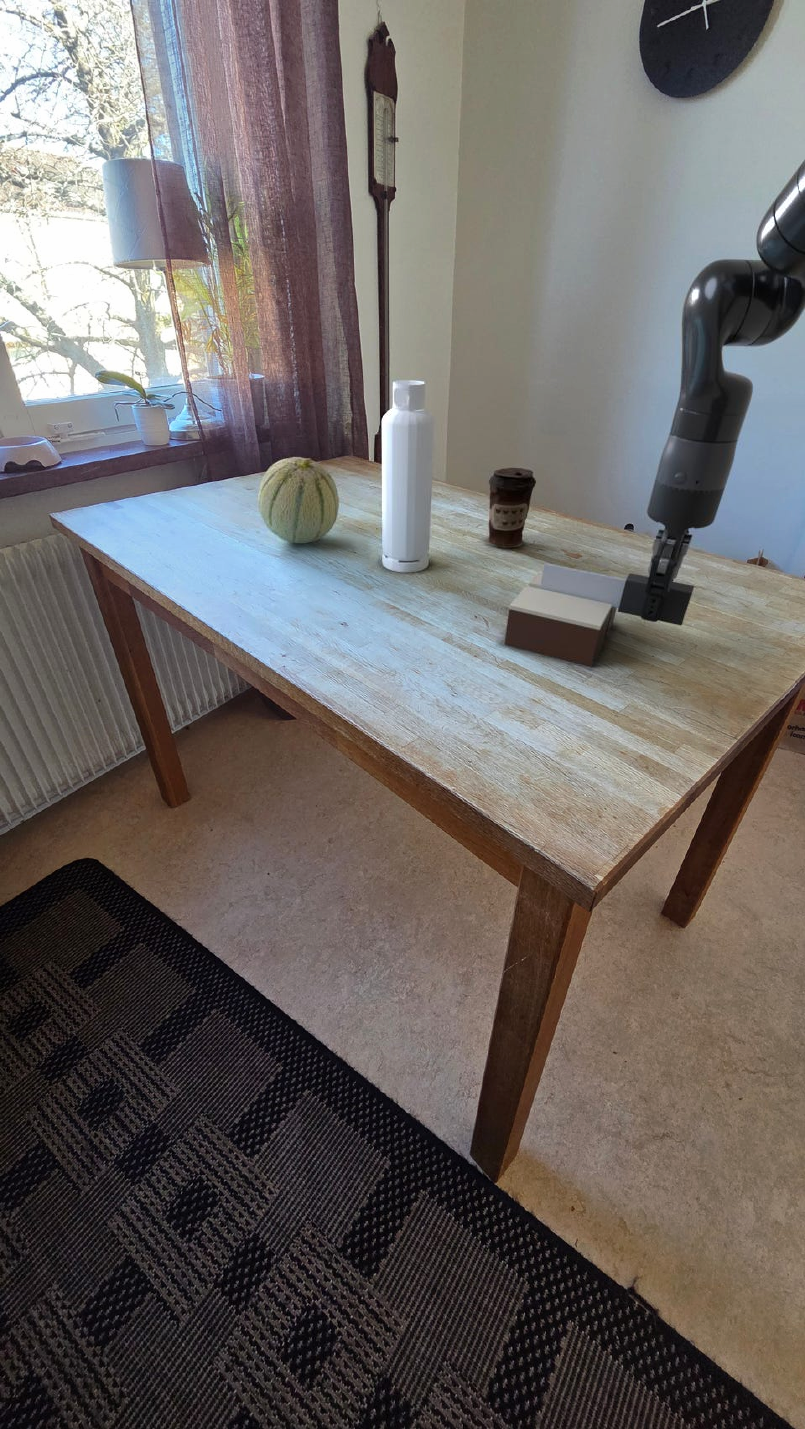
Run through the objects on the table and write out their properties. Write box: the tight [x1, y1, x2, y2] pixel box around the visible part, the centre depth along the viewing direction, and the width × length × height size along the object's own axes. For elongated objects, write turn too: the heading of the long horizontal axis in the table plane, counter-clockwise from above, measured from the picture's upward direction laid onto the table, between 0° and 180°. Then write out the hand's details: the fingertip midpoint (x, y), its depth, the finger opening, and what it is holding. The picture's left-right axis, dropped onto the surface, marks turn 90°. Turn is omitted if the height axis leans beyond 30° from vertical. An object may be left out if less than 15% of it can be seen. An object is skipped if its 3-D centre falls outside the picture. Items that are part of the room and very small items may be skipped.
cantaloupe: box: [257, 456, 340, 544], centre depth 109 cm, size 15×15×15 cm
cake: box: [504, 585, 612, 668], centre depth 82 cm, size 12×7×6 cm, turn 62°
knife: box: [540, 562, 695, 626], centre depth 80 cm, size 19×3×4 cm, turn 63°
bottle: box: [381, 379, 436, 573], centre depth 97 cm, size 8×8×28 cm
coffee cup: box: [488, 467, 537, 549], centre depth 110 cm, size 9×8×13 cm
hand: (651, 614), depth 79 cm, fingers closed on knife, 2 cm apart
